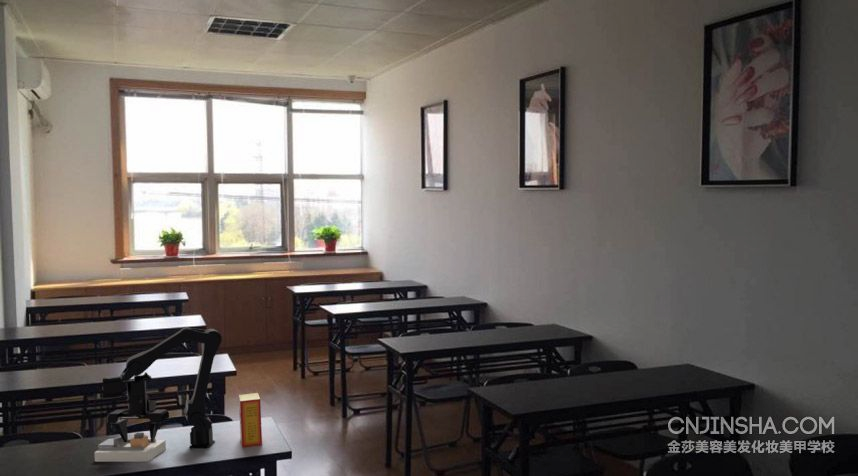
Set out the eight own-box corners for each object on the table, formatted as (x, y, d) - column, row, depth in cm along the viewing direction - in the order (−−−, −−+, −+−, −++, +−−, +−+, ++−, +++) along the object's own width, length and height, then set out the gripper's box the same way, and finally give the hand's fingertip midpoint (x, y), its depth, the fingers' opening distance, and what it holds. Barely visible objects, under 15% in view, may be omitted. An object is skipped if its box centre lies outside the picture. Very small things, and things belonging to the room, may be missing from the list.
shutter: (127, 442, 235) (127, 433, 235) (117, 448, 228) (116, 439, 228) (109, 442, 236) (108, 433, 236) (98, 448, 229) (97, 439, 229)
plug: (148, 453, 233) (147, 431, 233) (142, 457, 229) (141, 435, 229) (137, 453, 233) (136, 431, 233) (131, 457, 229) (130, 435, 229)
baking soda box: (240, 439, 244) (238, 393, 244) (259, 437, 246) (257, 391, 246) (242, 447, 235) (240, 400, 235) (262, 445, 237) (260, 398, 237)
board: (166, 449, 237) (165, 437, 237) (148, 461, 225) (147, 449, 225) (115, 449, 238) (114, 437, 238) (94, 461, 226) (94, 449, 226)
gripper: (175, 388, 238) (177, 434, 238) (122, 389, 240) (125, 434, 240) (159, 396, 227) (162, 444, 227) (104, 397, 228) (107, 445, 229)
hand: (139, 442), depth 231 cm, fingers open, 9 cm apart
